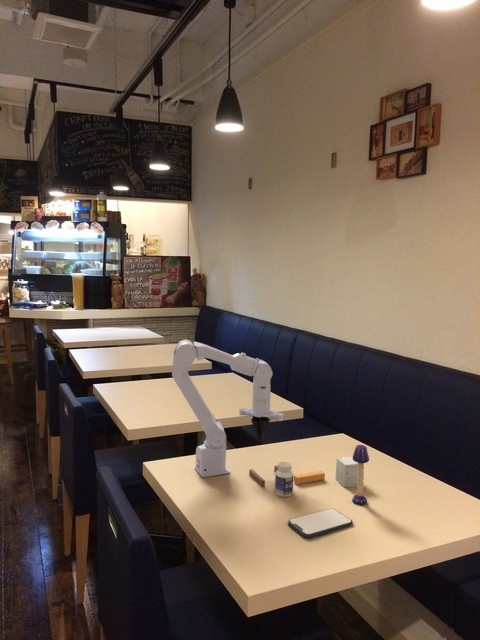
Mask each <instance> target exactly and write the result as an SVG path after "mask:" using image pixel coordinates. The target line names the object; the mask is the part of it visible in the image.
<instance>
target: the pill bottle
mask: <svg viewBox="0 0 480 640" xmlns="http://www.w3.org/2000/svg"><path fill="white" fill-rule="evenodd" d="M277 466H278V469H279V470H277V471H276V473H275V474H274V475H275V478H274V481H275V482H274V493H275V494H276V495H277V496H279V497H286V498H287V497H290V496H292V495H293V493H294V492H293V490H294V472H293V471H292V469H293V468H292V463H290V462H289V461H288V462H287V461H280V462H278V464H277Z"/></svg>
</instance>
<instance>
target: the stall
mask: <svg viewBox="0 0 480 640" xmlns="http://www.w3.org/2000/svg"><path fill="white" fill-rule="evenodd" d="M277 470H279V469H278V464H276V465H274V471H273V472H274V473H275V474H276V471H277ZM248 471H249V472H248V476H249V477H250V478H251V479H252V480H253V481H254V482H255V483H257V485H258V486H259V487H260V488H265V487H266V480H265V479H264V478H263V477H261V475H260V474H259V473H257V472H256V470H254V469H253V468H252V469H249V470H248Z"/></svg>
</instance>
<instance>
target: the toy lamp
mask: <svg viewBox="0 0 480 640" xmlns="http://www.w3.org/2000/svg"><path fill="white" fill-rule="evenodd" d="M352 457H353V460H354V461H355V462H358V472H357V474H358V476H357V480H358V481H357V485H358V486H356V494H355V495H354V496H352V499H351V501H352V503H353V504H354V505H358V506H365V505H367V504H368V499H367V497H366V496H365V495H364V491H363V490H364V479H365V477H364V474H365V472H364V470H365V466H364V465H365V463H368V462H369V461H370V456H369V451H368V448H367V446H366V445H363V444H358V445H356V446H355V449H354V451H353V453H352Z"/></svg>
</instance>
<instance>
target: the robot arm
mask: <svg viewBox="0 0 480 640" xmlns="http://www.w3.org/2000/svg"><path fill="white" fill-rule="evenodd" d="M172 356H173V359H172V369H171V370H172V372H171V376H172V379H173V380H174V382H175V384H176V385H177V387H178V389H179V390H180V392H181V393H182V395H183V397H184V398H185V400H186V402H187V403H188V405H189V406H190V408H191V411H192V412H193V413H194V415H195V416H196V419H197V420H198V421H199V423H200V426H201V428H202V430H203V432H204V433H205V440H204V441H203V444H201V445H198V446H196V447H195V448H196V449H195V466H194V469H195V471H197V473H198V474H199V475H200V476H201V477H202V478H206V477H214V476H219V475H220V476H221V475H226V474H231V471H230V470H229V469H228V468H227V466H226V465H227V464H226V462H227V434H226V432H225V429H224V424H223V422H222V421H220V420H218V419H217V418H216V417H215V415H214V414H213V413H212V411H211V409H210V407H209V406H208V404H207V403H206V401H205V400H204V398H203V397H202V395H201V393H200V391H199V390H198V388H197V386H196V385H195V383H194V381H193V379H192V378H191V376H190V374H189V371H190V369H191V365H192V364H193V363H194V362H195V360H196V358H197V361H202V360H204V359H210V360H213V361H216V362H219V363H221V364H222V363H223V364H226V365H228V366H229V367H230V369H231V371H235V372H237V373H239V374H241V375H242V374H243V375H244V376H245V375H246V376H248V377H253V380H252V381H253V383H252V407H251V408H244V407H242V408H240V409H239V416H241V417H242V416H246V417H247V416H248V417H252V418H251V420H250V421H251V423H252V425H253V427H254V430H255V432H256V436H257V440H259V441H263V440H264V438H265V434H266V430H267V427H268V425H269V424H270V421H271V420H276V421H279V422H282V421H284V413H282V412H276V411H272V410H271V386H272V385H271V379H272V377H273V375H274V374H273V370H272V367H271V366H270V365H269V363H267V362H266V361H264V360H263V359H260V358H258V357H256V358H254V357H250V356H248V355H247V354H246V353H245V352H241V353H239V352H238V353H235V354H230V353H227V352H225V351H222V350H219V349H218V348H215V347H212V346H210V345H208V344H204V343H202V342H198V341H192V340H189V339H182V340H180V341H178V343H177V344H176V345H175V349H174V351H173V355H172Z"/></svg>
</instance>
